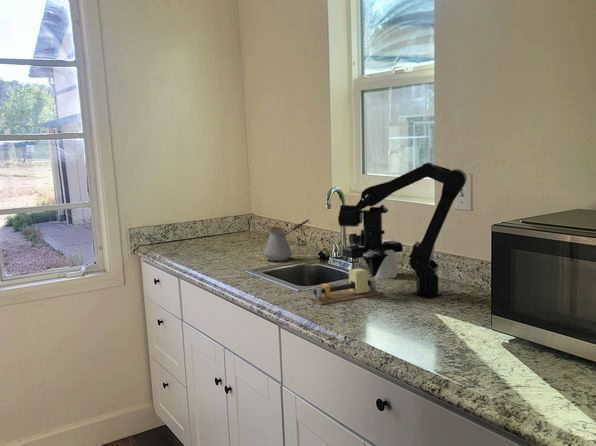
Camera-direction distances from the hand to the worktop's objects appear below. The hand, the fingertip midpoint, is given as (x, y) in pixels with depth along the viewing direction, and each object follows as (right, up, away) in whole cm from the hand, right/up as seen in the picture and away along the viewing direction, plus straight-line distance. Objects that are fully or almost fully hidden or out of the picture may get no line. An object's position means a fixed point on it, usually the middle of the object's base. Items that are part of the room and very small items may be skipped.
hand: (373, 276), depth 178 cm
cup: (+7, -2, +20) cm, 21 cm away
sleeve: (-5, -5, -2) cm, 7 cm away
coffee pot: (-27, +2, +56) cm, 62 cm away
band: (-15, -5, -7) cm, 17 cm away
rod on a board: (-9, -6, -4) cm, 12 cm away
